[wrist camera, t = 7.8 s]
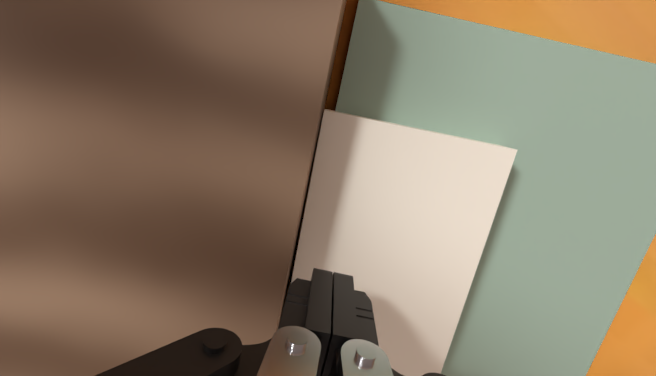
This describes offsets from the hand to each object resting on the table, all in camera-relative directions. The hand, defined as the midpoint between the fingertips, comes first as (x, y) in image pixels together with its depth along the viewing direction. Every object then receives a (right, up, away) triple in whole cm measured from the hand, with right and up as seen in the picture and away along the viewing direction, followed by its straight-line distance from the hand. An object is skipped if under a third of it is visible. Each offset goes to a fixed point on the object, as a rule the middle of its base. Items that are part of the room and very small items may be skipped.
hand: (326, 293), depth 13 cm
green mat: (+7, 0, +5) cm, 8 cm away
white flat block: (+3, +1, +4) cm, 5 cm away
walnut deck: (-9, +3, +4) cm, 11 cm away
